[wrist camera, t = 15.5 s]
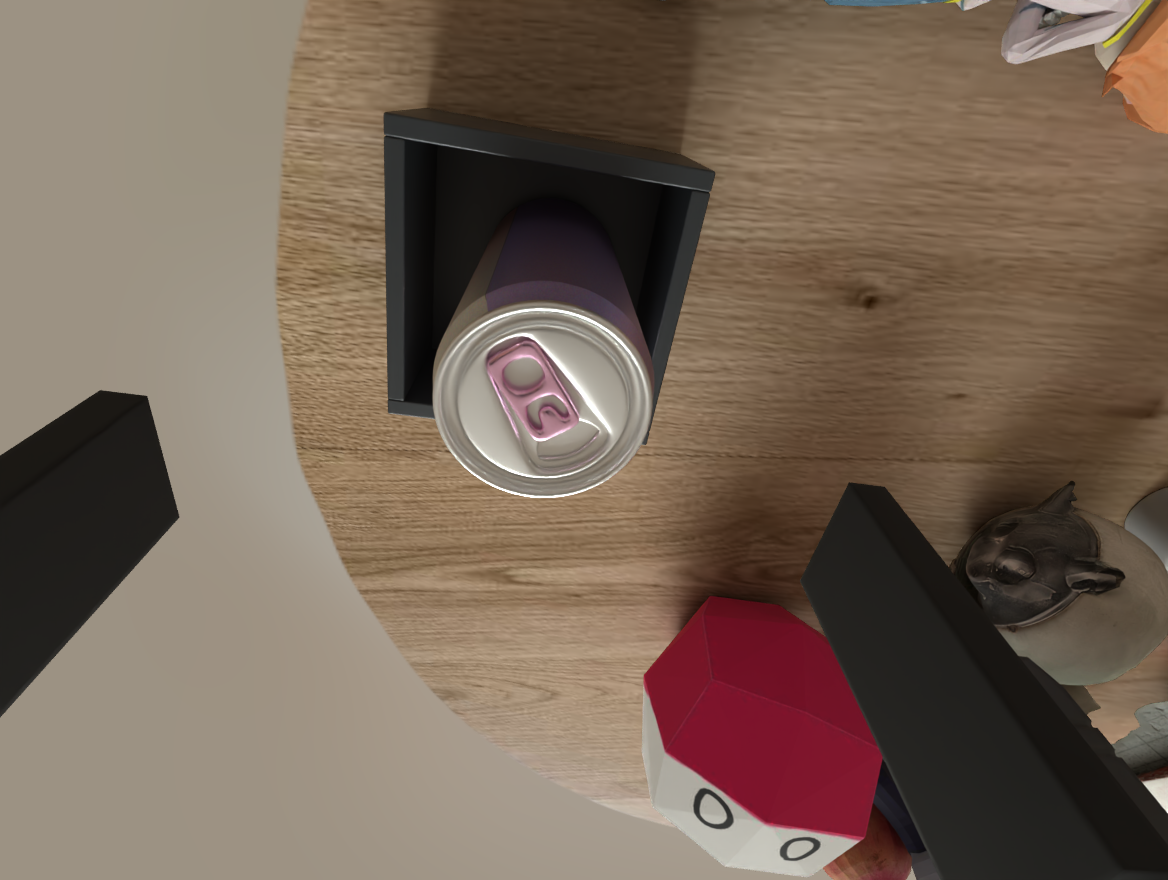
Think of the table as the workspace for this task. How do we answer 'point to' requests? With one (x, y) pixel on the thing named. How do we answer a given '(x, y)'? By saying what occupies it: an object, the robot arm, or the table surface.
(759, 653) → the decorative object
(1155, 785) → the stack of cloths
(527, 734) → the table surface
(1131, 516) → the cup
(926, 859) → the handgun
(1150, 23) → the figurine
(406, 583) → the table surface
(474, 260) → the trash bin
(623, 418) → the beverage can
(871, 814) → the fruit
